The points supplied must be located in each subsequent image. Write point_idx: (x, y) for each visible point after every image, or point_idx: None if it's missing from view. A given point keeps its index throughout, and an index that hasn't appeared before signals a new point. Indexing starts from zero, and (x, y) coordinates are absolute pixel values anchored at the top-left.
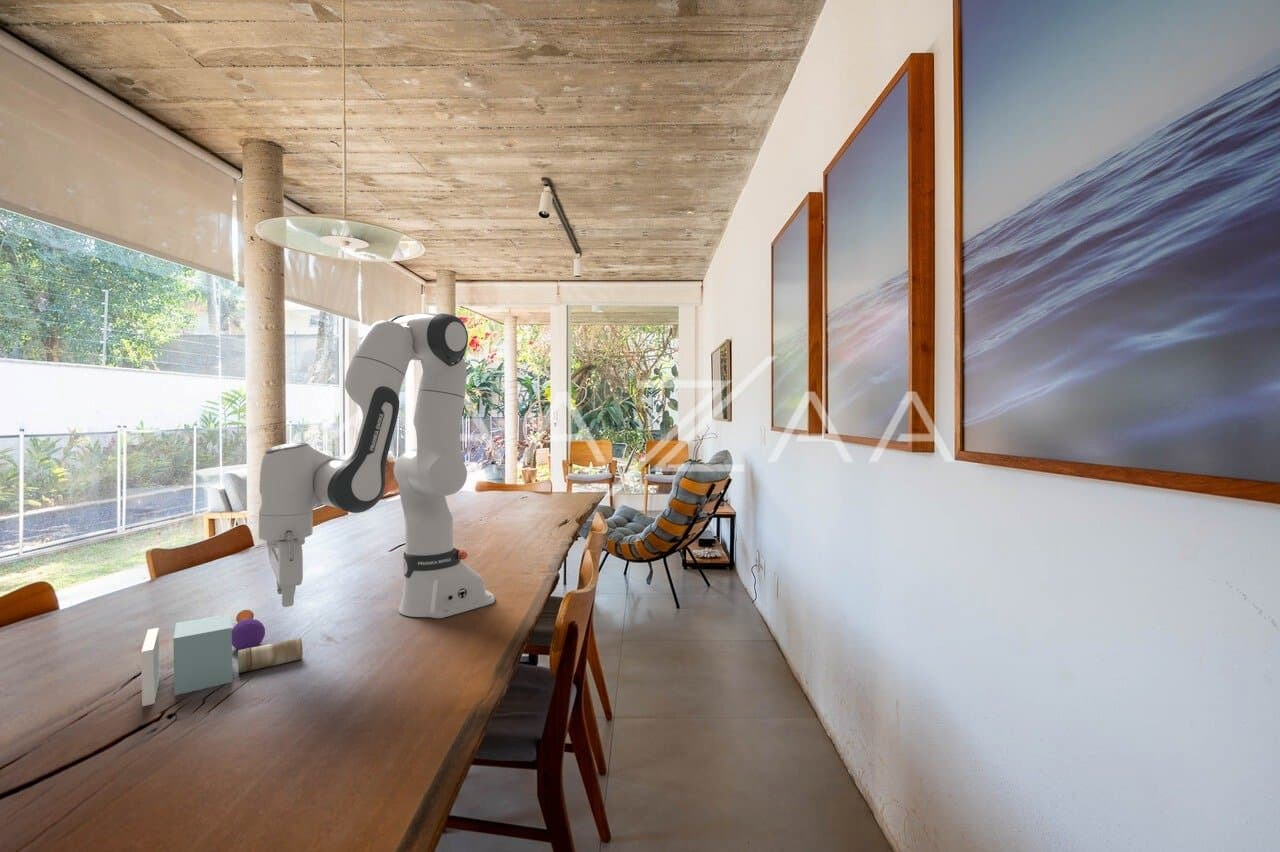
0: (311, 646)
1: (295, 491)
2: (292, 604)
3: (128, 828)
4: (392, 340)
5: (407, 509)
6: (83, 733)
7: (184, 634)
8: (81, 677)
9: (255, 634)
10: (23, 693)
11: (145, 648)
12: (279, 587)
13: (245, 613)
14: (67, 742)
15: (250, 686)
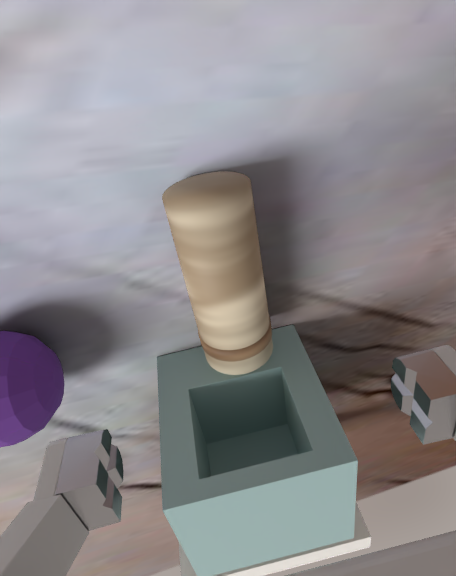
0: (68, 148)
1: None
2: (447, 349)
3: None
4: None
5: None
6: (374, 455)
7: (336, 531)
8: (114, 543)
9: (41, 367)
10: (156, 566)
11: (350, 549)
12: (117, 501)
13: None
14: (392, 459)
15: (349, 279)
